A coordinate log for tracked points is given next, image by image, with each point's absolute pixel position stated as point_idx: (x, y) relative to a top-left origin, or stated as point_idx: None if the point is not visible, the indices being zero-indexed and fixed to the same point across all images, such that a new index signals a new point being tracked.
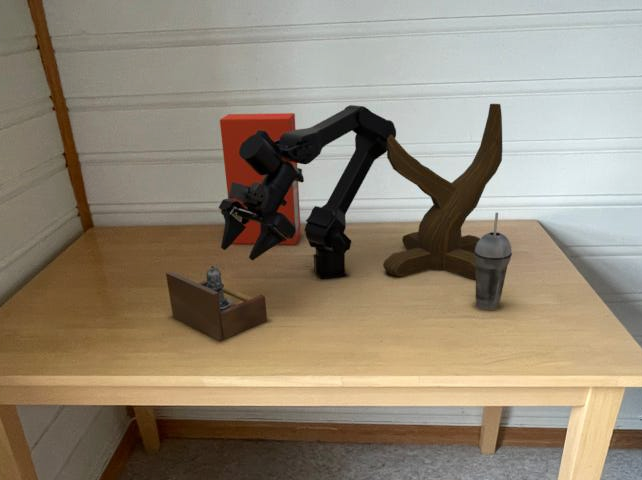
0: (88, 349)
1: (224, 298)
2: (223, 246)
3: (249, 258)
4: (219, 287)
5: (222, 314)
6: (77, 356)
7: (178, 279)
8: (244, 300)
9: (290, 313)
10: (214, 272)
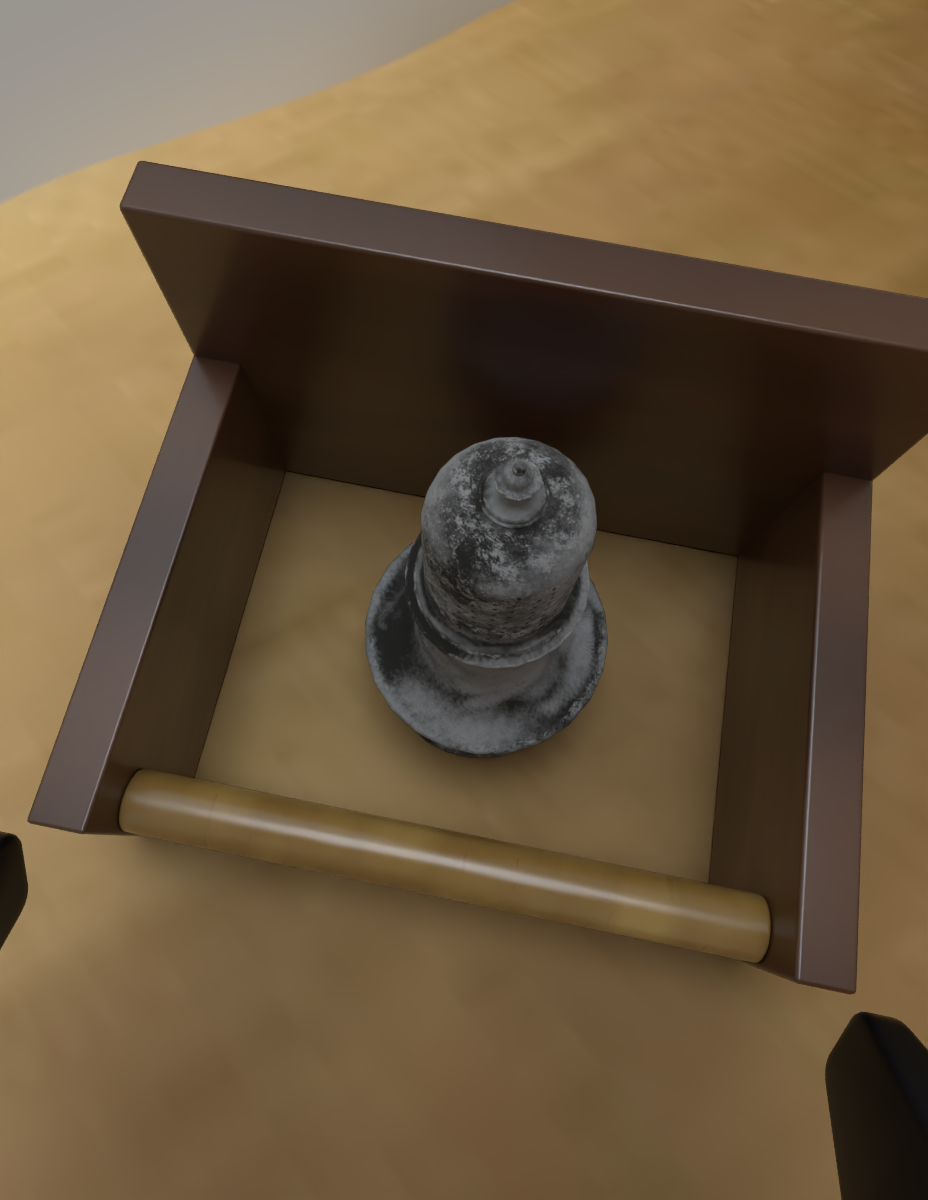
0: (818, 79)
1: (427, 654)
2: (866, 1058)
3: (20, 844)
4: (419, 559)
5: (190, 366)
6: (795, 23)
7: (749, 273)
8: (312, 802)
9: (23, 1056)
10: (454, 472)
